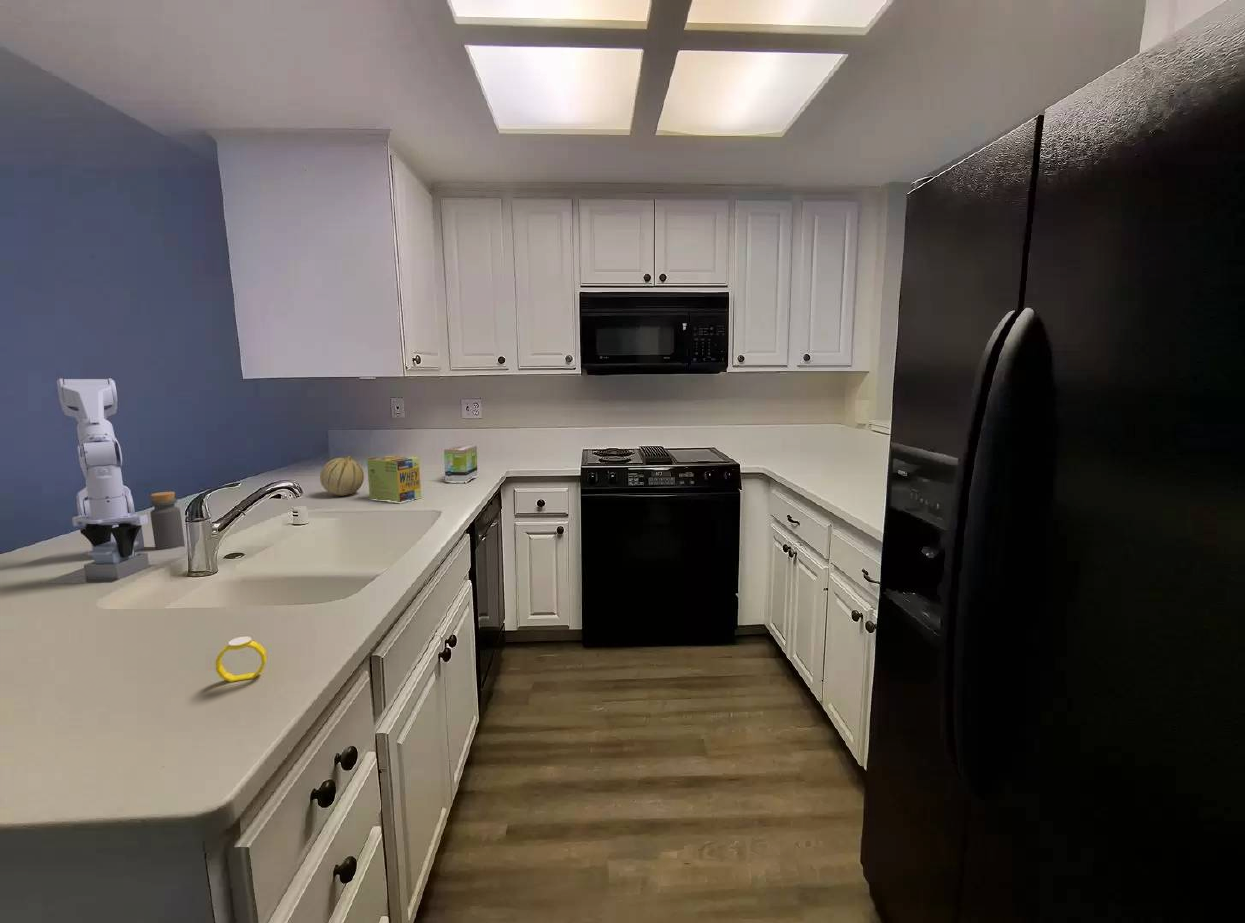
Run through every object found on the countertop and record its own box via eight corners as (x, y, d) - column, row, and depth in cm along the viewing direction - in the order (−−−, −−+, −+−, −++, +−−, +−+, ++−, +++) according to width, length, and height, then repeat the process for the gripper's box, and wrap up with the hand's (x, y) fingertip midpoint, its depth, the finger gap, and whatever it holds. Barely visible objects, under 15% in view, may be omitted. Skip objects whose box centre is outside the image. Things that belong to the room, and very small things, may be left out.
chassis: (91, 569, 123) (88, 551, 123) (156, 568, 124) (153, 550, 123) (40, 587, 112) (37, 568, 112) (112, 586, 113) (109, 567, 112)
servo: (123, 559, 121) (120, 538, 121) (141, 558, 121) (138, 537, 121) (90, 571, 114) (86, 549, 113) (109, 571, 114) (105, 548, 113)
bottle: (182, 544, 142) (174, 490, 140) (187, 549, 138) (180, 492, 136) (153, 550, 137) (145, 493, 135) (158, 554, 134) (150, 496, 131)
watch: (269, 671, 80) (268, 634, 79) (263, 681, 77) (262, 642, 76) (221, 676, 78) (220, 638, 77) (214, 686, 75) (212, 647, 74)
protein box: (400, 504, 188) (396, 461, 185) (369, 500, 194) (365, 458, 192) (422, 498, 197) (419, 457, 195) (392, 495, 204) (389, 455, 201)
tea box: (468, 483, 225) (466, 449, 223) (444, 483, 225) (442, 449, 223) (478, 477, 240) (476, 445, 238) (456, 477, 240) (454, 445, 238)
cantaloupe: (317, 495, 203) (313, 456, 201) (357, 489, 213) (354, 453, 211) (329, 501, 193) (325, 460, 191) (371, 495, 203) (368, 456, 201)
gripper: (53, 501, 111) (64, 563, 113) (123, 500, 111) (133, 562, 113) (86, 493, 118) (96, 552, 120) (152, 493, 118) (160, 551, 120)
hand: (116, 556), depth 117 cm, fingers closed on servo, 4 cm apart
